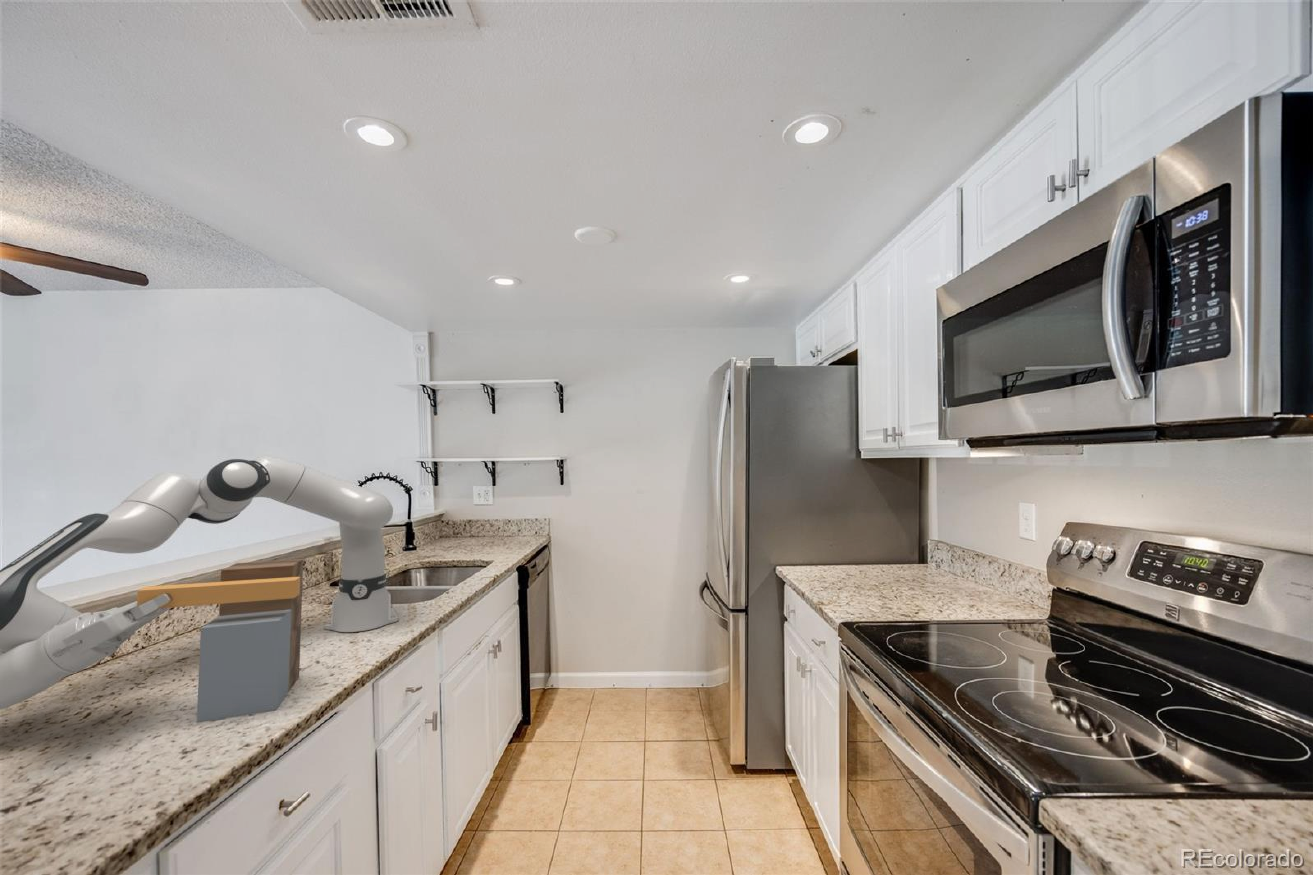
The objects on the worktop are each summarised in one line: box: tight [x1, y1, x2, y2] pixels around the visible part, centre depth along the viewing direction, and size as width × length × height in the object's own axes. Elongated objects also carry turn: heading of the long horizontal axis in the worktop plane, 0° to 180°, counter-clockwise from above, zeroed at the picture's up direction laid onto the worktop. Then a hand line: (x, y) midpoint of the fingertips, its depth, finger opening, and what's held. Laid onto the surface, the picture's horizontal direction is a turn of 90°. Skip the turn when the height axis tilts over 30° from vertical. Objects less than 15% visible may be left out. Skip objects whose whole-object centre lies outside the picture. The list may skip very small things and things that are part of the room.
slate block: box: [196, 609, 291, 723], centre depth 98 cm, size 8×12×17 cm, turn 112°
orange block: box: [136, 577, 300, 609], centre depth 97 cm, size 4×24×4 cm, turn 112°
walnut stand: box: [218, 558, 304, 693], centre depth 106 cm, size 8×12×26 cm, turn 112°
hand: (176, 593), depth 95 cm, fingers closed on orange block, 3 cm apart
